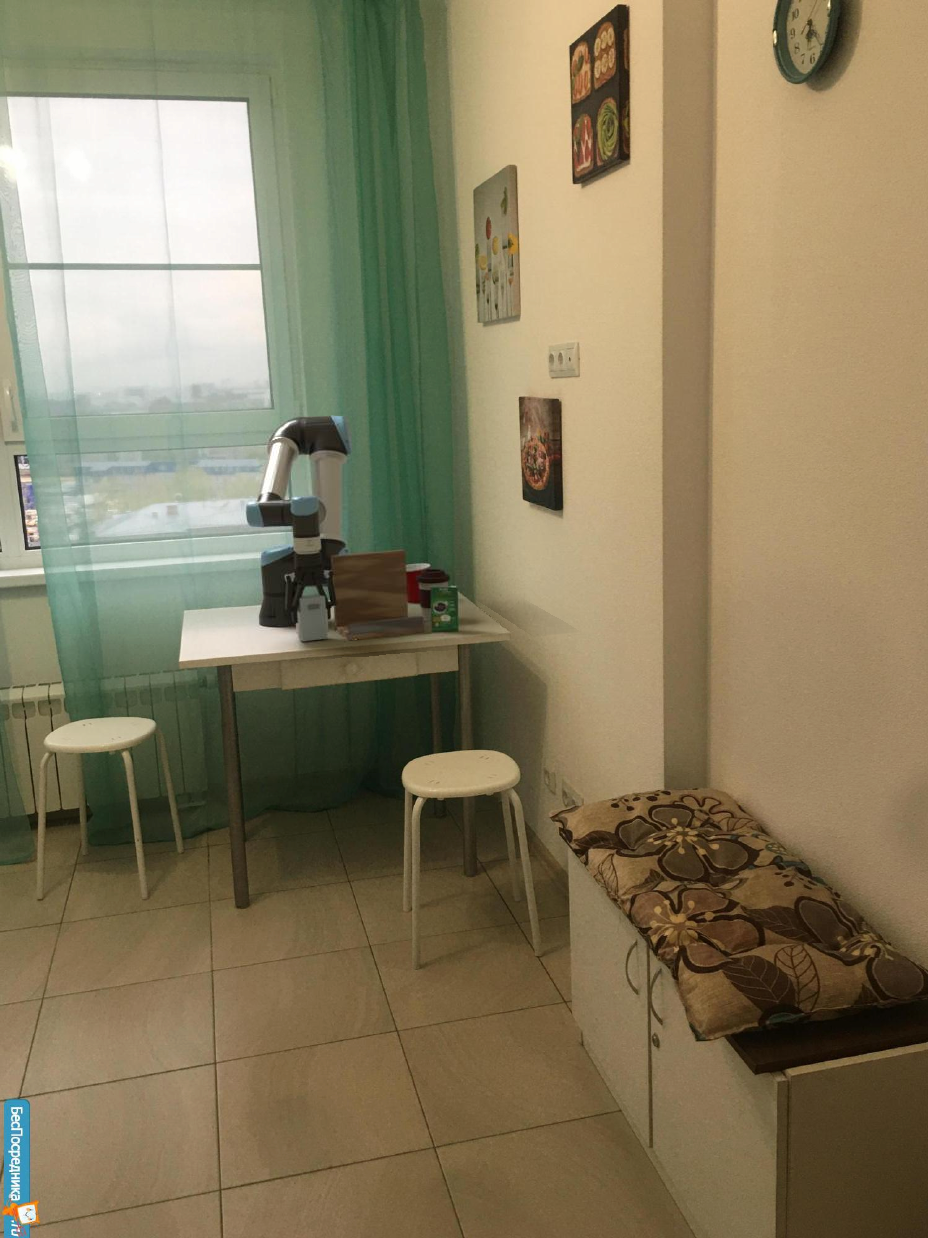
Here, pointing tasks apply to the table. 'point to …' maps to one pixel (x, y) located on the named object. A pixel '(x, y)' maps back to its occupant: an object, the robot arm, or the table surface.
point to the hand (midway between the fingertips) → (312, 632)
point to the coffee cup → (425, 582)
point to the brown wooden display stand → (372, 595)
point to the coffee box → (444, 608)
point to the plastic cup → (414, 581)
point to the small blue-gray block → (312, 617)
